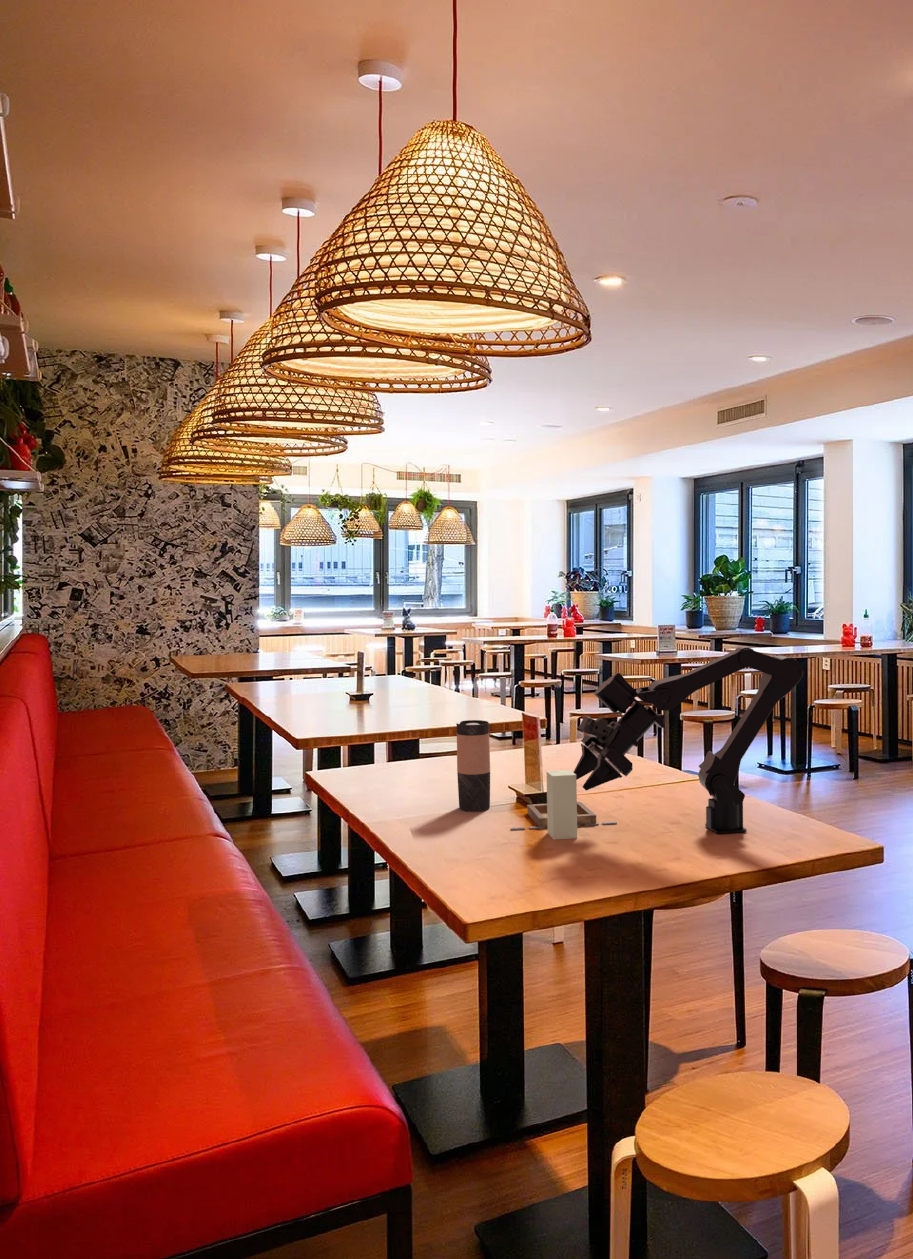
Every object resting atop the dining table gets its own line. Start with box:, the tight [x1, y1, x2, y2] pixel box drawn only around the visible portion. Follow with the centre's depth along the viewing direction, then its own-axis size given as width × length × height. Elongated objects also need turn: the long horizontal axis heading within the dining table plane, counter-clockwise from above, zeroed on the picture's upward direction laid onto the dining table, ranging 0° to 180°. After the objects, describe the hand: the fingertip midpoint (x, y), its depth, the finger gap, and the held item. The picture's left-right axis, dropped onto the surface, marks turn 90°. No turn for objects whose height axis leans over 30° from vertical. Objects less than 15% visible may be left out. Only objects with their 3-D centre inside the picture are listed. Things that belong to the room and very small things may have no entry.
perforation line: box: [510, 821, 618, 831], centre depth 200 cm, size 23×1×1 cm, turn 98°
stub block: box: [546, 769, 578, 841], centre depth 193 cm, size 5×5×13 cm
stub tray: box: [526, 801, 597, 829], centre depth 207 cm, size 12×12×2 cm
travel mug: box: [456, 719, 491, 812], centre depth 218 cm, size 8×8×20 cm
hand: (578, 783), depth 193 cm, fingers open, 9 cm apart
